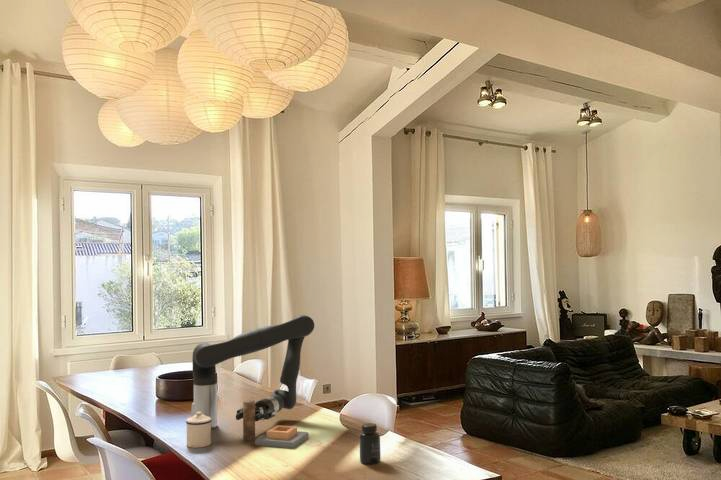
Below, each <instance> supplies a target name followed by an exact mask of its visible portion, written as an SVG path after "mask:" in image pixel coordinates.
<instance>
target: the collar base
mask: <svg viewBox="0 0 721 480" xmlns="http://www.w3.org/2000/svg"><path fill="white" fill-rule="evenodd" d="M305 439H306V440H307V439H309V432H308V431H298V426H293V425H292V426H290V425H281V424H279V425H275V426H273V427H271V428H269V429H268V430H266V432H265V433H263V434H262V435H260V436H258V437H256V438H255V440H254V445H255V446H263V447H275V448H287V449H294V448H296V447H297V446H298V445H300V444H301V443H302V442H303V443H304V441H305Z"/></svg>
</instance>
